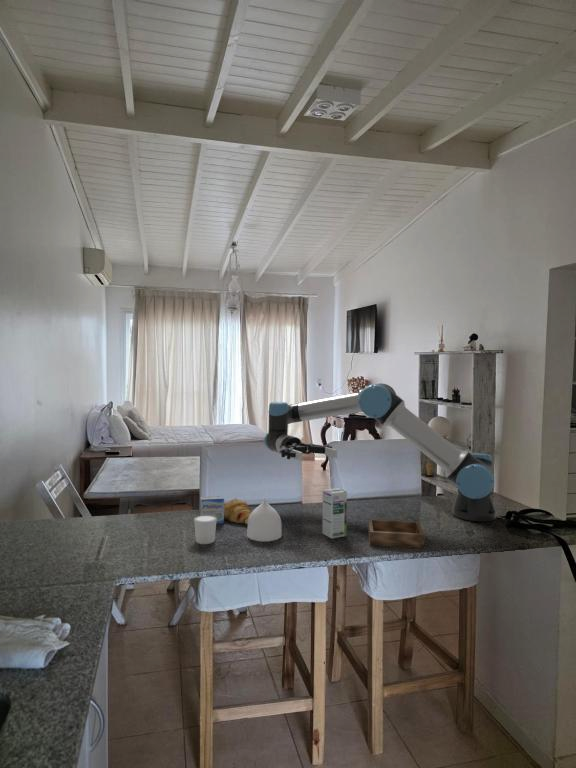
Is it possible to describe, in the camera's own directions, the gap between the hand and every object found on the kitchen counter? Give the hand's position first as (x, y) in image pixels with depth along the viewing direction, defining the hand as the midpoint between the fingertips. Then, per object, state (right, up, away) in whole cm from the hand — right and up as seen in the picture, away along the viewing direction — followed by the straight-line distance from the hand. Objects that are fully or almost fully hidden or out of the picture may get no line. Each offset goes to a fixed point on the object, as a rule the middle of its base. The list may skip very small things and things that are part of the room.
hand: (319, 455), depth 169 cm
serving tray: (+23, -25, -11) cm, 36 cm away
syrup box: (+4, -25, -8) cm, 26 cm away
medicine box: (-37, -24, +3) cm, 44 cm away
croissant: (-29, -24, +8) cm, 38 cm away
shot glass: (-36, -24, -15) cm, 46 cm away
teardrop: (-18, -24, -9) cm, 32 cm away
